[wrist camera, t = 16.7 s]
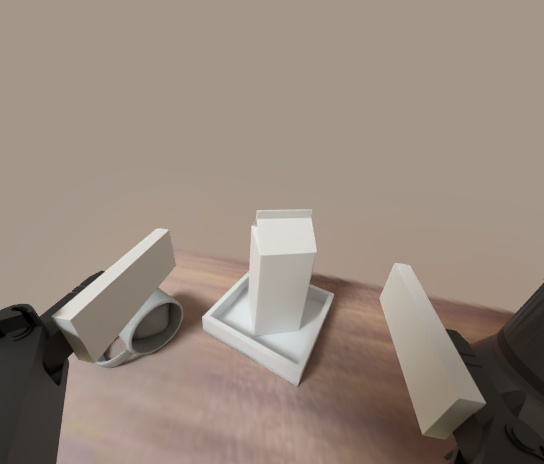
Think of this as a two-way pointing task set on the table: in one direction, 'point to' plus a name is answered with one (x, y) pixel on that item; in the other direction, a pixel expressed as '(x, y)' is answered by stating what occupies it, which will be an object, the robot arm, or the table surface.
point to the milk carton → (280, 269)
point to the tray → (272, 347)
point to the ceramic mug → (149, 328)
